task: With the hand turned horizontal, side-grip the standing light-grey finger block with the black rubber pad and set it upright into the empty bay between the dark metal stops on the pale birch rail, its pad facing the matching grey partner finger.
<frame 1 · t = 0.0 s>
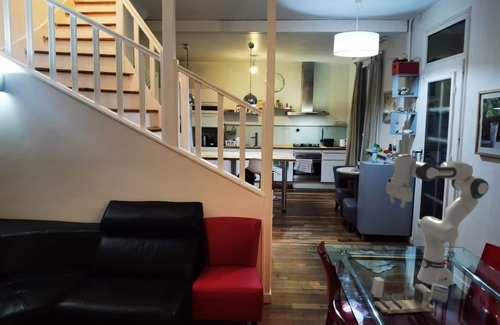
hand: (397, 205, 213), 48 cm above the table, tool pointing down, fingers open, 8 cm apart
medicine box: (438, 300, 204), on the table
grey finger: (376, 295, 203), on the table
finger rail: (403, 307, 192), on the table
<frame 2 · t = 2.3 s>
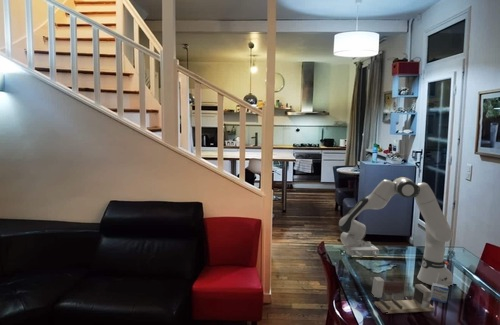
hand: (368, 256, 212), 18 cm above the table, tool horizontal, fingers open, 8 cm apart
nothing on the table moved.
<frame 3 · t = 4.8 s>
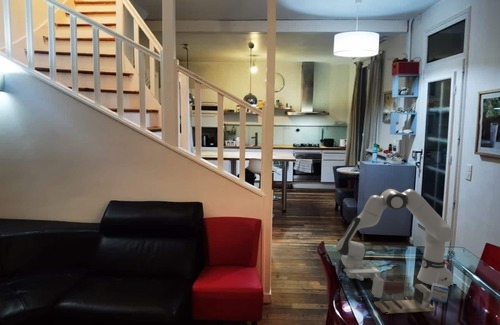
hand: (369, 279, 210), 5 cm above the table, tool horizontal, fingers open, 8 cm apart
nothing on the table moved.
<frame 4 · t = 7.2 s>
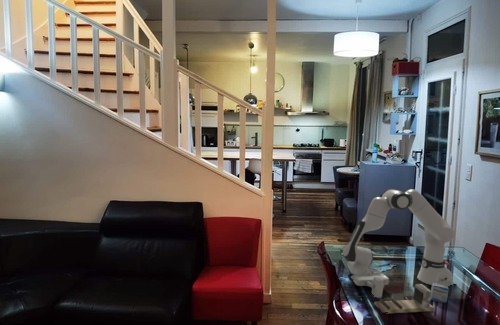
hand: (378, 286, 202), 6 cm above the table, tool horizontal, fingers closed on grey finger, 4 cm apart
grey finger: (376, 295, 203), on the table, touching gripper
everything else where it was.
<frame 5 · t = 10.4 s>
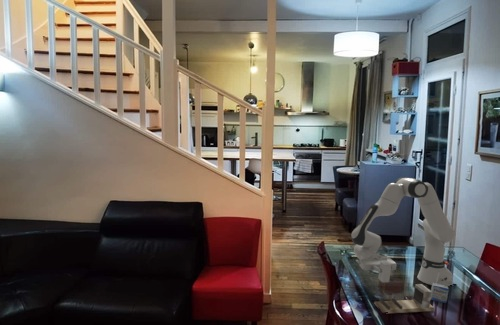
hand: (385, 271, 195), 17 cm above the table, tool horizontal, fingers closed on grey finger, 4 cm apart
grey finger: (383, 280, 196), point 11 cm above the table, touching gripper
everything else where it was.
when the fingers open (9 cm above the table, at t = 13.3 s): grey finger drops 1 cm, resting on finger rail.
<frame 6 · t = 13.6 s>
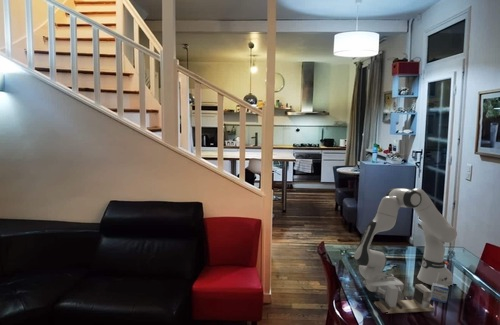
hand: (393, 293, 188), 9 cm above the table, tool horizontal, fingers open, 7 cm apart
grey finger: (390, 305, 190), point 2 cm above the table, touching finger rail
everything else where it was.
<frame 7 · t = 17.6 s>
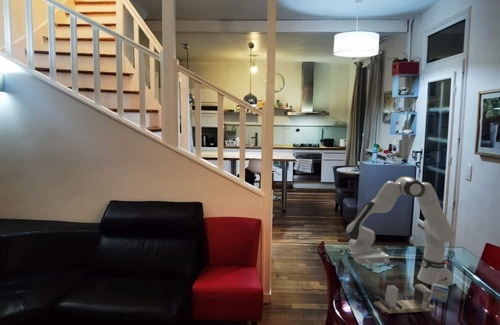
hand: (378, 264, 203), 18 cm above the table, tool horizontal, fingers open, 8 cm apart
nothing on the table moved.
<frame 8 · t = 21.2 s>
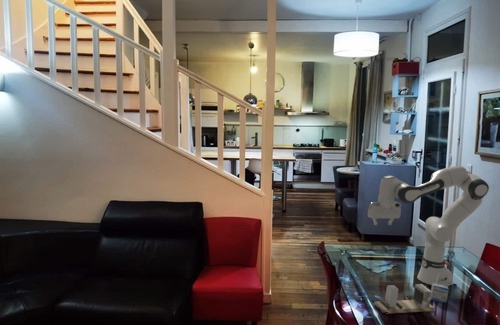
hand: (382, 224, 219), 34 cm above the table, tool pointing down, fingers open, 8 cm apart
nothing on the table moved.
at the end: grey finger 0.3 cm from the target spot on the finger rail, point 2.0 cm above the finger rail's base; grey finger tilted 0°; the gripper is holding nothing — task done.
